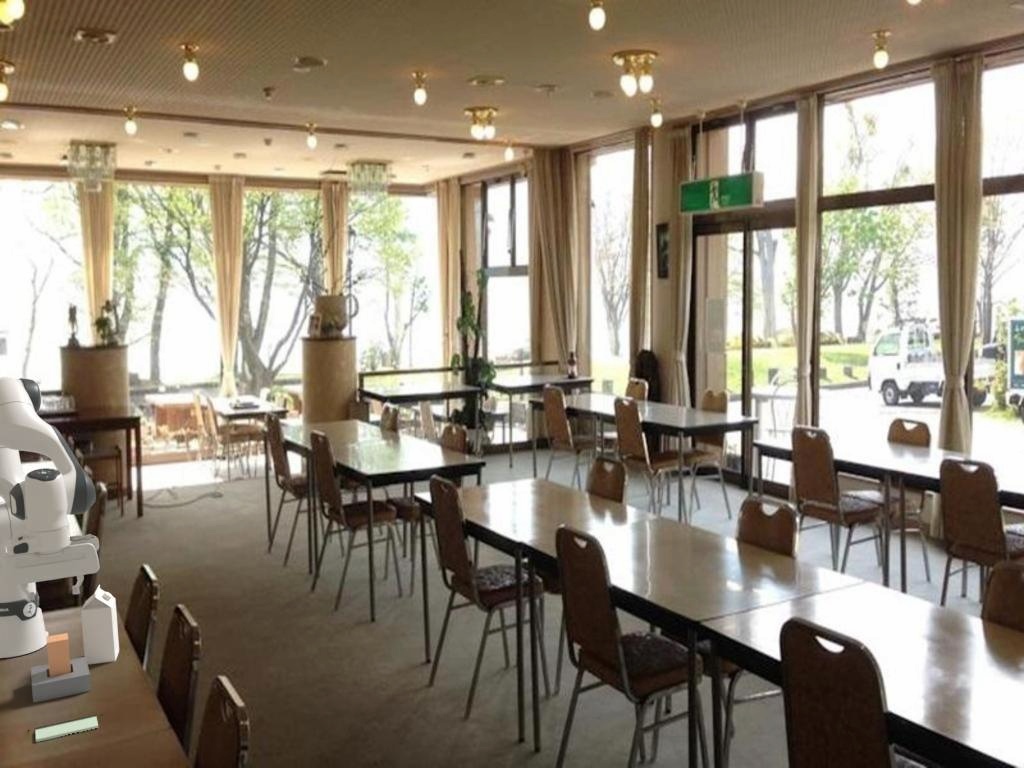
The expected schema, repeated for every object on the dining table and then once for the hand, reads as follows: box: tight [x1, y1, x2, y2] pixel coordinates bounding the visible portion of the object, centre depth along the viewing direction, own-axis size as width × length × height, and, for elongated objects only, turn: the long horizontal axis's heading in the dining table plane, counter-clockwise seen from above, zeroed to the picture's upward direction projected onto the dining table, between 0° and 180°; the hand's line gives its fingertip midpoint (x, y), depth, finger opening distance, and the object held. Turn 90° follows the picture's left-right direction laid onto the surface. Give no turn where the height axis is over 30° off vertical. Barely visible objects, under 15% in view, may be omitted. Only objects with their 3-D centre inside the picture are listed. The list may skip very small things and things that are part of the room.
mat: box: [34, 714, 99, 743], centre depth 203 cm, size 16×12×1 cm
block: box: [46, 632, 71, 677], centre depth 217 cm, size 4×4×12 cm
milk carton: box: [80, 584, 120, 665], centre depth 234 cm, size 7×7×19 cm
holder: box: [30, 656, 92, 704], centre depth 218 cm, size 12×12×5 cm
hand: (53, 597), depth 216 cm, fingers open, 8 cm apart
